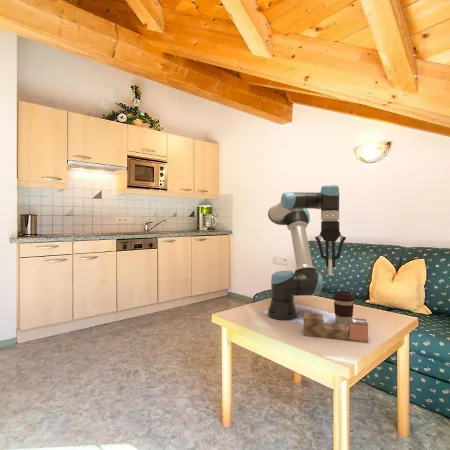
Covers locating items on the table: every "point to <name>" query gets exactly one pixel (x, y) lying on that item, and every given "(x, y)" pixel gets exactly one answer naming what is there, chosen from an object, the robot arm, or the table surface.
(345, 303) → the coffee cup
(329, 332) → the stair
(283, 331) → the table surface
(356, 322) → the block
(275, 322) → the table surface
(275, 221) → the robot arm
